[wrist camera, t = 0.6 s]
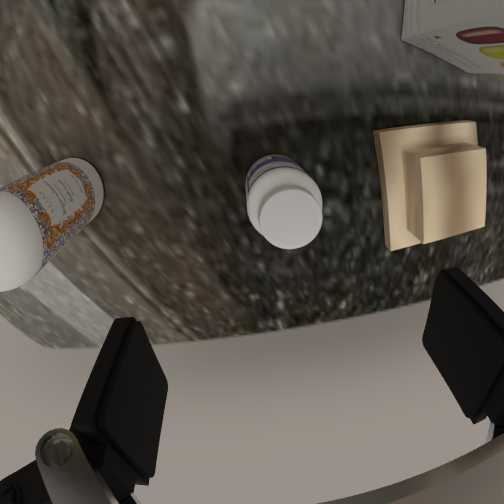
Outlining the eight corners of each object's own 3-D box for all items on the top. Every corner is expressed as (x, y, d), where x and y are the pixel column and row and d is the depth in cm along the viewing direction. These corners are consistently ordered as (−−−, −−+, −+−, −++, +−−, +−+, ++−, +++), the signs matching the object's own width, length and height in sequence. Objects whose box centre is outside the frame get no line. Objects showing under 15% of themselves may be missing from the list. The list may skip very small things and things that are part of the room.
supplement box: (398, 41, 22) (529, 13, 6) (403, -31, 17) (509, -86, 2) (471, 76, 22) (597, 91, 7) (474, 8, 18) (586, -6, 3)
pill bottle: (301, 212, 29) (326, 261, 20) (244, 209, 29) (245, 258, 20) (307, 155, 27) (339, 181, 18) (247, 151, 26) (249, 175, 18)
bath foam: (118, 200, 28) (-12, 337, 10) (73, 233, 29) (-43, 364, 11) (82, 142, 25) (-87, 220, 7) (39, 181, 26) (-103, 277, 9)
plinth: (467, 120, 25) (497, 126, 20) (470, 222, 30) (495, 239, 25) (372, 130, 26) (397, 137, 21) (385, 244, 31) (405, 268, 26)
